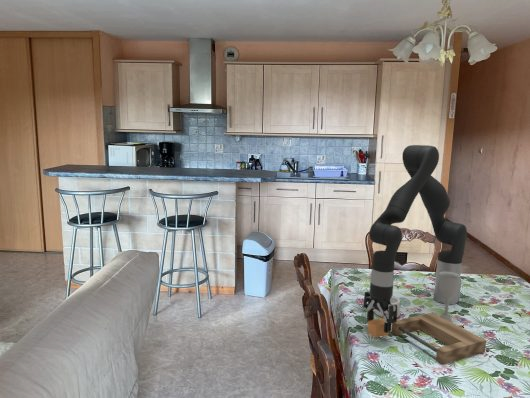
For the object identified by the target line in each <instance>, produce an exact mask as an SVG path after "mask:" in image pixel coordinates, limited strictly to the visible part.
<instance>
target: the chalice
mask: <svg viewBox="0 0 530 398" xmlns="http://www.w3.org/2000/svg"><path fill="white" fill-rule="evenodd" d="M439 274H440V290H441V293H442V295H443V297H444V298H445V299H446V302H445V304H444V305H445V306H444V308H443V309H444V312H443V313H441V314H440V315H439V316H440V317H442V318H444V319H446V320H448V321H450V322H452V323H454V322H453V320H452V316H451V315H450V314H449V313H448V311H449V310H450V308H449V306H450V304H449V299H452V298H453V296H454V295H455V294H456V292H457V290H458V284H459V279H461V277H462V276H461V275H459V274H456V273H453V272H440V273H439Z"/></svg>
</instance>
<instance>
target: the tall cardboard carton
mask: <svg viewBox="0 0 530 398" xmlns="http://www.w3.org/2000/svg"><path fill="white" fill-rule="evenodd" d="M367 322H368V323H367V334H369V335H370V334H371V335H372V336H371V335H370V336H371V337H373V336H374V337H377V338H380V336H382V337H384V336H389V335H390V332H388V333H385V332H384V322H385V320H384V318H383V317H379V318H375V319H374V320H370V321H367ZM374 337H373V338H374Z"/></svg>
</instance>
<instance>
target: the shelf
mask: <svg viewBox="0 0 530 398" xmlns="http://www.w3.org/2000/svg"><path fill="white" fill-rule="evenodd" d="M452 322H453V321H452ZM452 322H450V321H448V320H446V319H444V318H442V317H440V315H438V314H436V313H434V312H428V313H424V314H419V315H416V316H411V317H407V318H401V319H397V322H394V323H391V331H390V333H392V334H394V336H400V335H403V334H405V335H407V336H409V337H410V338H412V339H414V340H415V341H417V342H418V343H420V344H421V345H423V346H425V347H427V348H428V349H430V350H431V351H433V352H434V353H435V361H436V362H437V363H439V364H441V365H446V364H450V363H452V362H455V361H459V360H463V359H467V358H469V357H472V356H475V355H479V354H482V353H485V352H486V345H487V339H485V338H484V337H481V336H479V335H477V334H475V333H473V332H471V331H469V330H467V329H465V328H463V327H462V326H460V325H457V324H455V323H454V322H453V323H452ZM420 330H421V331H422V332H424V333H425V334H427V335H428V336H431V337H433V338H434V339H436V340H437V341H439V342H441V343H442V344H444V346H441V347H435V346H434V345H432V344H430V343H429V342H427V341H425V340H424V339H422V338H421V337H419V336H417V335H415V334H414V333H413V332H415V331H416V332H417V331H420Z"/></svg>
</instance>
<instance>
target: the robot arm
mask: <svg viewBox="0 0 530 398" xmlns="http://www.w3.org/2000/svg"><path fill="white" fill-rule="evenodd" d="M439 159H440V153H439V150H438V148H437V147H436V146H434V145H429V144H428V145H425V144H412V145H408V146H406V147H404V149H403V151H402V163H403V167H404V168H405V170H406V172H407V173H408V175H409V176H410V179H409V180H408V181H406V182H405V183H404V184H403V185H401V187H398V189H397V190H396V191H395V192H394V193H393V194H392V196H391V197H390V200H389V201H388V204H387V206H386V208H385V210H384V211H383V212H382V213H381V214H380V215H379V216H378V217H377V219H375V221H374V222H373V224H372V225H371V226H370V229H369V235H368V236H369V239H370V241H372V242H373V243H375V244H378V245H382V246H385V249H384V250H375V251H374V253H373V255H372V265H371V266H372V267H371V273H370V283H369V291H365V292H364V298H363V308H364V309H366V312H367V313H366V314H367V315H366V316H367V317H366V318H367V319H366V320H367V322H368V321H370V320H375V319H374V318H375V312H374V309H376V310H378V311H379V312H381V315H382V316H383V317H384V318H383V317H382V318H383V319H384V320H385V322H384V332H385V333H388V332H389V333H391V331H392V323H394V322H397V320H398V317H397V305H392V304H391V303H390V299H391V297H392V296H393V293H394V292H393V291H394V281H395V280H394V279H395V259H396V257H397V254H398V252H399V248H400V245H401V243H402V240H403V233H402V230H401V228H400V227H398V226H396V225H393V224H400V223H404V221H405V220H406V218H407V216H408V213H409V212H410V210H411V207H412V206H413V203H414V201H415V199H416V197H417V196H418V195H420V198H421V201H422V204H423V205H424V207H425V209H426V211H427V214H428V217H429V219H430V221H431V225H432V229H433V233H434V235H435V237H436V241H438V242H439V243H442V244H446V245H450V246H451V248H450V249H449V250H441V251H439V252H438V254H437V260H436V261H437V262H436V273H435V281H434V291H433V300H434V301H436V302H438V303H441V304H444V305H445V302H446V299H445V298H444V297H443V295H442V293H441V290H440V274H439V273H440V272H453V273H456V274H459V275H460V276H461V275H462V274H461V273H462V266H463V265H462V263H463V257H464V255H465V247H466V241H467V236H468V231H467V226H466V225H465V224H463V223H458V222H454V221H449V220H447V219H446V217H445V214H446V213H447V211H448V209H449V207H450V203H451V201H450V197H449V195H448V191H447V189H446V187H445V186H444V184H442V183H441V182H440V181H439V180H438V179H436V178H435V177H434V176H432V174H433V173H434V172H435V170H436V168H437V166H438V164H439ZM461 288H462V279H461V278H460V279H459V284H458V290H457V292H456V294H455V295H454V296H453V298H452V299H449V305H456V304H457V303H458V302H460V298H461ZM386 310H387V313H384V312H385V311H386ZM386 315H387V316H388V318H387V316H386ZM392 317H393V319H392Z"/></svg>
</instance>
